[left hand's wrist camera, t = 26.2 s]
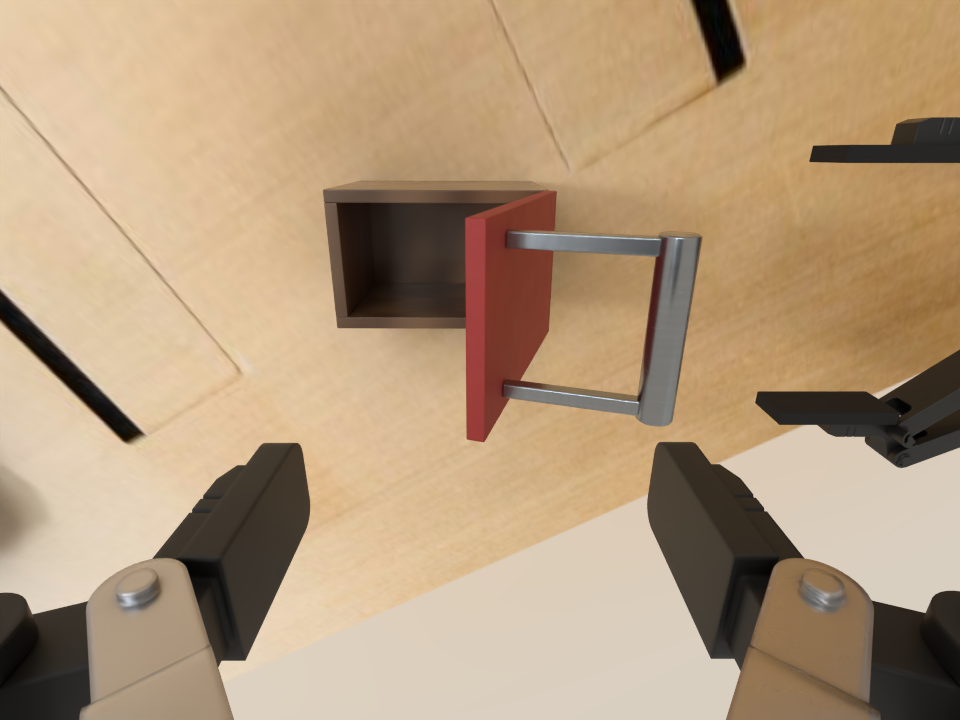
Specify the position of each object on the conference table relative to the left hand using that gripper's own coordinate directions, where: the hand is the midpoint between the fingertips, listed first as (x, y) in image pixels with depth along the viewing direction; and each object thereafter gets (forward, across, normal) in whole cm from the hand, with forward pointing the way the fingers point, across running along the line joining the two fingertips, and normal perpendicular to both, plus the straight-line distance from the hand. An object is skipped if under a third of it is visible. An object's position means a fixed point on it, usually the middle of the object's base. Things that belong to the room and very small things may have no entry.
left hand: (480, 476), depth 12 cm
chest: (+35, -3, 0) cm, 35 cm away
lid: (+17, +2, 0) cm, 17 cm away
